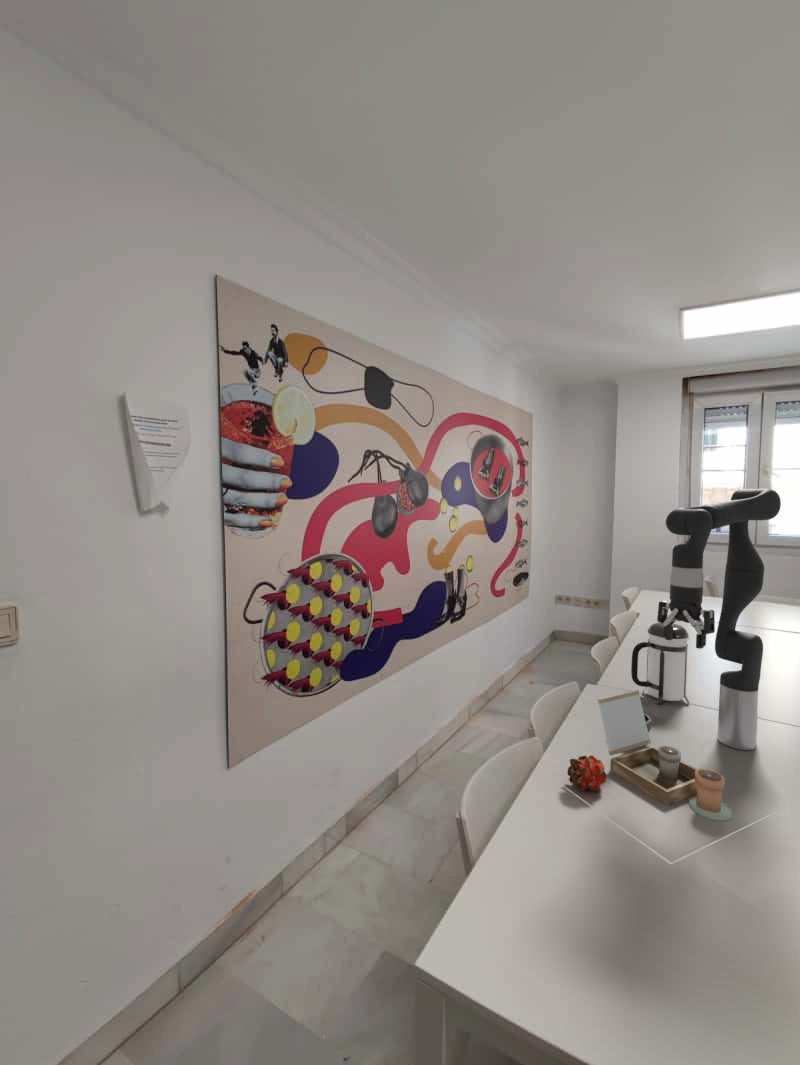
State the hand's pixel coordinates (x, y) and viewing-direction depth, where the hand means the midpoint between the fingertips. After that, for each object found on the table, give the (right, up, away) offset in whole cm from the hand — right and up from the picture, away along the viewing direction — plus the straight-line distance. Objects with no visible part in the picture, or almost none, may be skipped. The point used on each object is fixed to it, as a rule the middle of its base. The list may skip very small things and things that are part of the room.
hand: (683, 643), depth 128 cm
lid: (-14, -22, +2) cm, 26 cm away
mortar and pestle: (-6, -32, +16) cm, 37 cm away
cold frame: (-12, -33, -3) cm, 35 cm away
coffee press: (+19, -31, +44) cm, 57 cm away
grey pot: (-7, -33, -4) cm, 34 cm away
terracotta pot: (-5, -34, -17) cm, 38 cm away
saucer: (-4, -34, -18) cm, 39 cm away
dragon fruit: (-29, -34, -9) cm, 46 cm away
